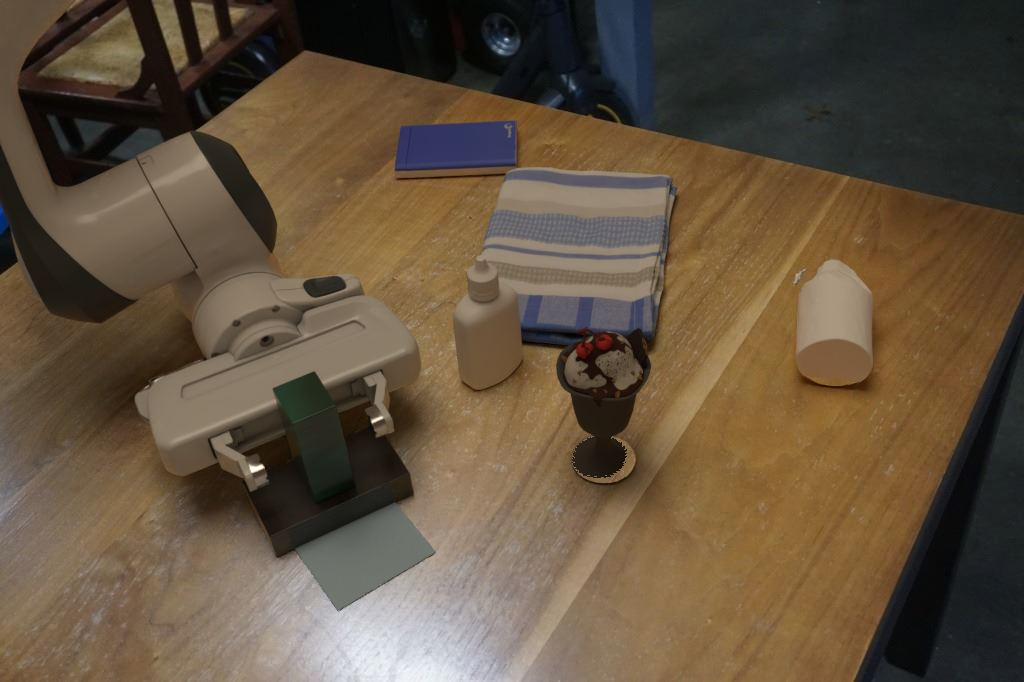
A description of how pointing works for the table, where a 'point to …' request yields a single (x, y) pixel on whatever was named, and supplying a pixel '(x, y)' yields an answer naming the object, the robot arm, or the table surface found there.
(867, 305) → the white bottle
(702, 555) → the table surface
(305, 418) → the green post on base
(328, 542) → the gray rectangular card
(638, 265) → the dish towel
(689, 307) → the table surface
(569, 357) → the sundae
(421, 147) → the blue hardcover book
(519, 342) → the eye dropper bottle
